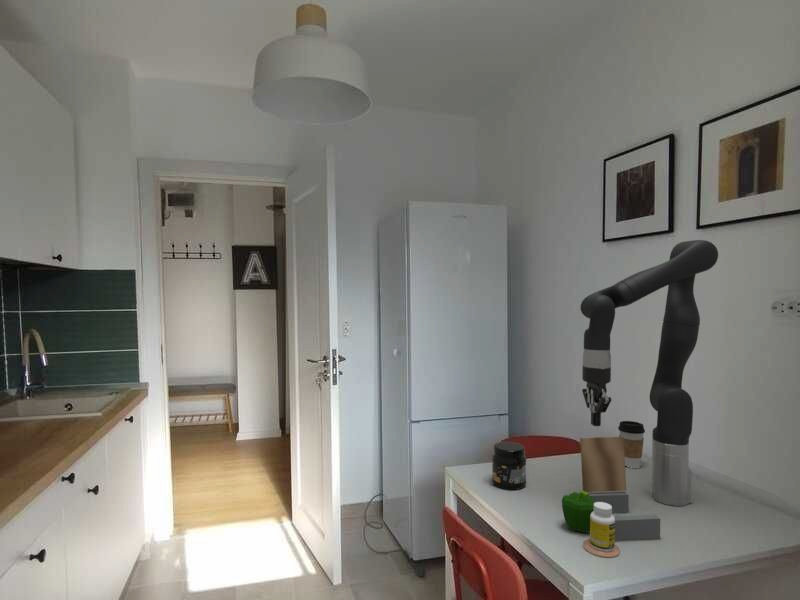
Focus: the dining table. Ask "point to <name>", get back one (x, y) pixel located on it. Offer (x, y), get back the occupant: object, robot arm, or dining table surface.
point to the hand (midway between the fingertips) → (595, 425)
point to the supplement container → (509, 465)
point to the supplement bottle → (602, 527)
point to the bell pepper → (578, 510)
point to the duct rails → (629, 518)
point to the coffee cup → (632, 442)
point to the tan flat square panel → (603, 464)
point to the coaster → (600, 553)
